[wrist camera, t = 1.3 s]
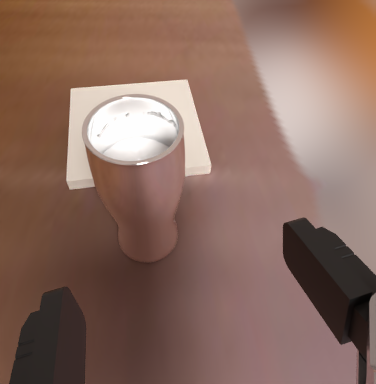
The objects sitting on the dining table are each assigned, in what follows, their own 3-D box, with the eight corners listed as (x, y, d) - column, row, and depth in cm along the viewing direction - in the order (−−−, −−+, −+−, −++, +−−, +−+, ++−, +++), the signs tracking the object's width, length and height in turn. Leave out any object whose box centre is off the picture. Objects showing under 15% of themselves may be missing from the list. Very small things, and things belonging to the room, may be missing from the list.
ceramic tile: (69, 189, 36) (66, 180, 35) (73, 97, 45) (70, 87, 44) (210, 173, 38) (211, 164, 37) (186, 88, 47) (187, 79, 46)
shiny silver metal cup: (141, 282, 30) (118, 187, 18) (100, 231, 33) (57, 120, 21) (196, 238, 33) (209, 131, 21) (154, 195, 36) (144, 79, 24)
